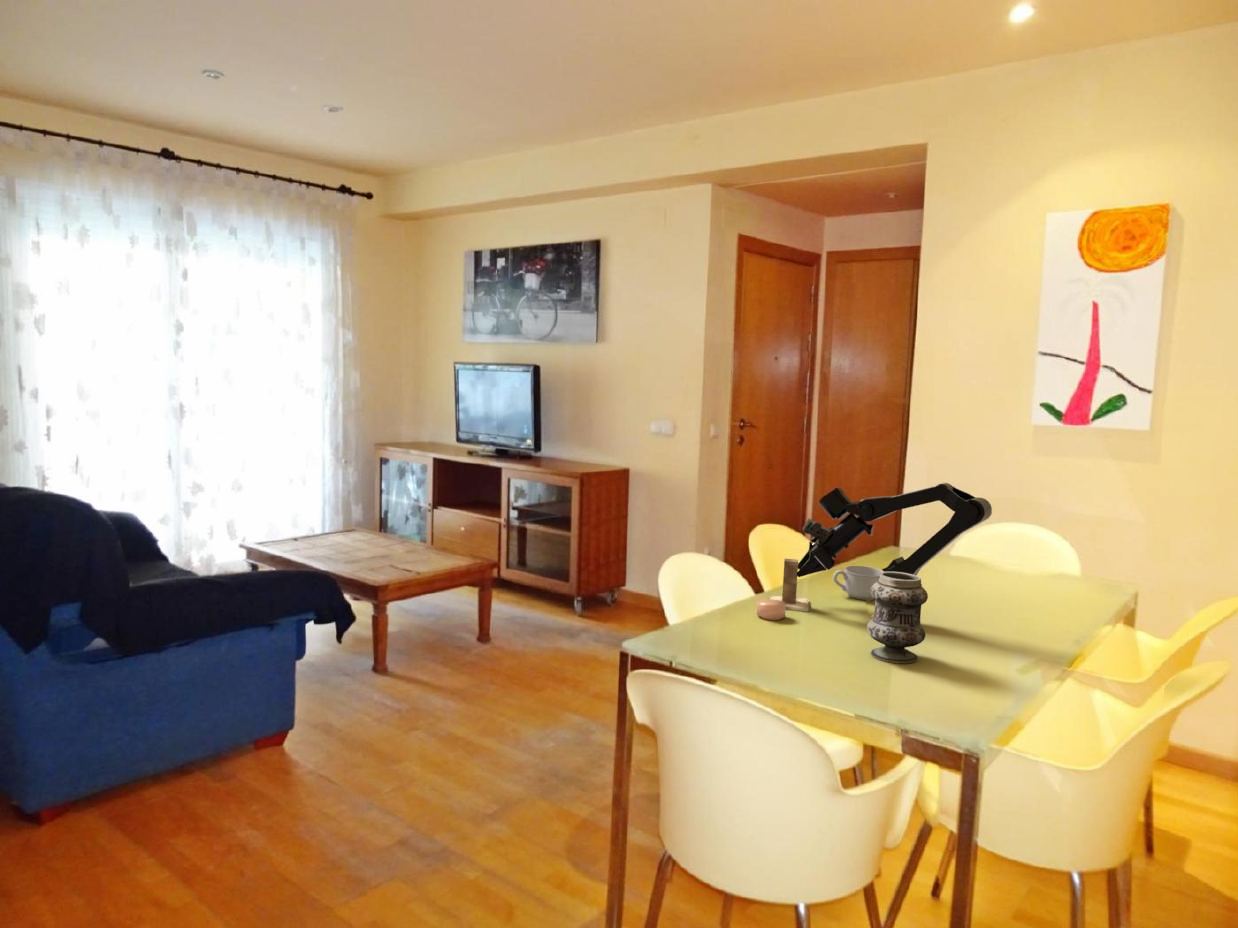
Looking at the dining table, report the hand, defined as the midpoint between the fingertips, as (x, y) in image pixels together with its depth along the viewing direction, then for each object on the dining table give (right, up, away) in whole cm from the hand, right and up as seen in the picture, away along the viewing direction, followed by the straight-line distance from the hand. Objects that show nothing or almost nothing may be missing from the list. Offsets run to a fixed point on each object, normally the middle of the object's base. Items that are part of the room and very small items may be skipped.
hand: (797, 571), depth 227 cm
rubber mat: (-2, -9, +1) cm, 9 cm away
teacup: (+19, -9, +13) cm, 25 cm away
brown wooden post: (-2, -9, +1) cm, 9 cm away
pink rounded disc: (-9, -10, -11) cm, 18 cm away
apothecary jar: (+13, -14, -37) cm, 42 cm away
